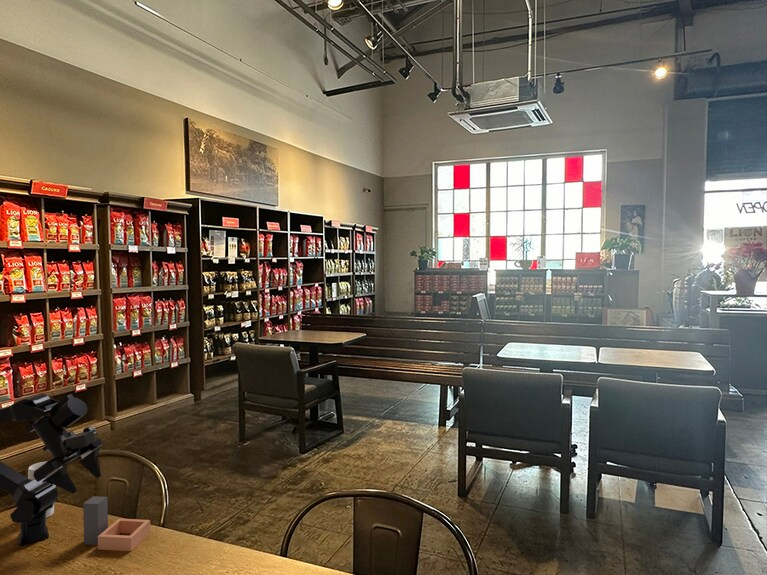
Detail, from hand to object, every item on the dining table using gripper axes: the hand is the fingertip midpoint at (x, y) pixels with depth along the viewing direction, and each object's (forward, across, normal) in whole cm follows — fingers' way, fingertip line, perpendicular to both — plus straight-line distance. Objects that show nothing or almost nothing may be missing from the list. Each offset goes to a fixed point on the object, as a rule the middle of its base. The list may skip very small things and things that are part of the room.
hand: (87, 484), depth 130 cm
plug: (+14, +1, +8) cm, 16 cm away
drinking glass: (0, +11, +27) cm, 29 cm away
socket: (+18, +1, +1) cm, 18 cm away
